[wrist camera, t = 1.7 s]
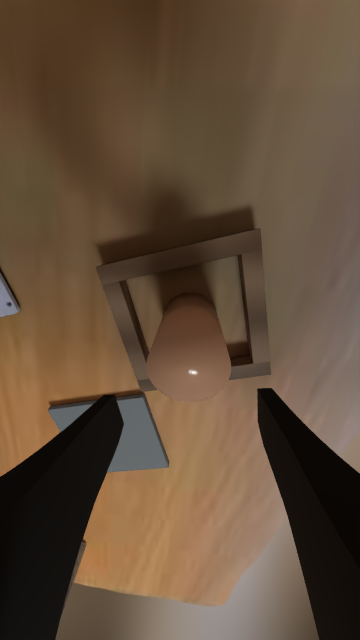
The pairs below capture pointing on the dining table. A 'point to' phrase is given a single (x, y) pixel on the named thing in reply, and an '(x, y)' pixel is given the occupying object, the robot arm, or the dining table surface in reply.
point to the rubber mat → (124, 433)
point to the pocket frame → (187, 255)
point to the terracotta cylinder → (189, 351)
